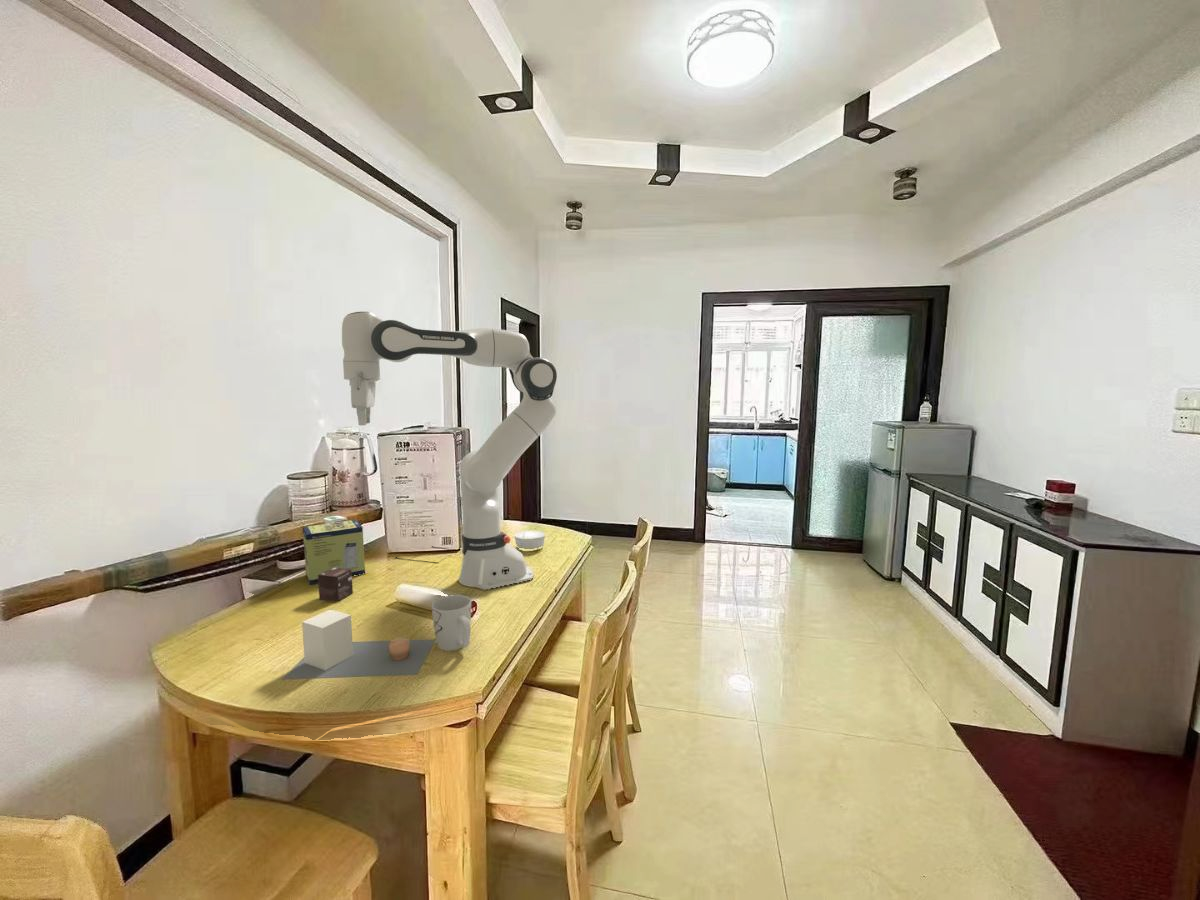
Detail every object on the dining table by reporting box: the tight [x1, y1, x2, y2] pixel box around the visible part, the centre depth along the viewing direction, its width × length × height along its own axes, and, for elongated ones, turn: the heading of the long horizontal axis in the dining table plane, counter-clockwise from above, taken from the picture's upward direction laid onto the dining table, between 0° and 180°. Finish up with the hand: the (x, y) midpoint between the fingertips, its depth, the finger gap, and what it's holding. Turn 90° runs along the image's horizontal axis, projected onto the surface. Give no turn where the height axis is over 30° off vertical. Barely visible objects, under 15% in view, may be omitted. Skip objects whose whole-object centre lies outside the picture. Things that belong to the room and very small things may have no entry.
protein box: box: [302, 519, 366, 586], centre depth 150 cm, size 10×16×16 cm
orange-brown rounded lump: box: [389, 637, 410, 661], centre depth 102 cm, size 4×4×3 cm
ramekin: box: [513, 530, 546, 549], centre depth 177 cm, size 11×11×5 cm
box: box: [317, 568, 354, 603], centre depth 133 cm, size 6×6×7 cm
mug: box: [431, 594, 472, 652], centre depth 107 cm, size 11×8×10 cm
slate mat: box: [281, 638, 437, 681], centre depth 102 cm, size 26×14×1 cm, turn 94°
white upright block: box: [301, 609, 353, 670], centre depth 101 cm, size 6×6×9 cm
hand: (364, 424), depth 131 cm, fingers open, 8 cm apart
